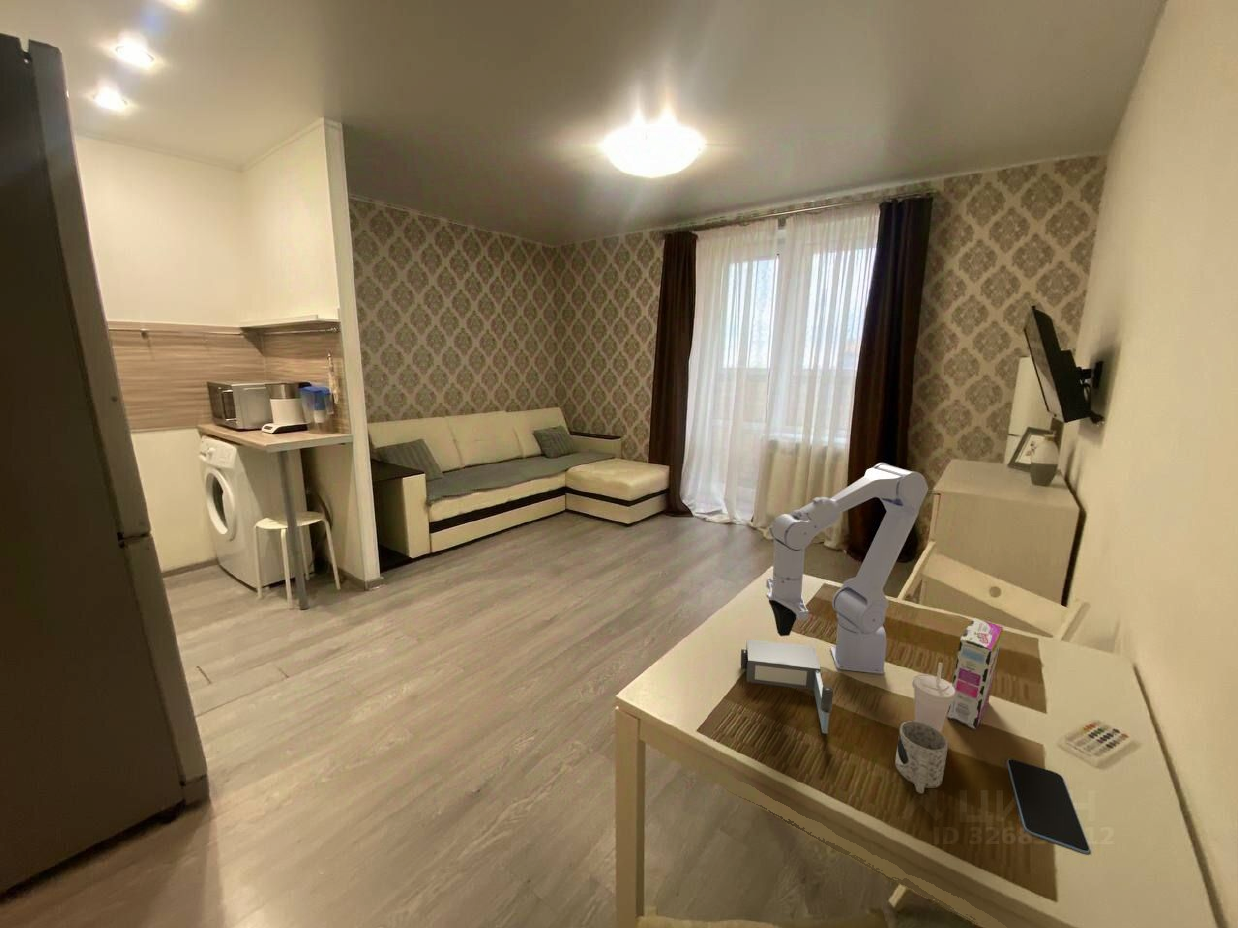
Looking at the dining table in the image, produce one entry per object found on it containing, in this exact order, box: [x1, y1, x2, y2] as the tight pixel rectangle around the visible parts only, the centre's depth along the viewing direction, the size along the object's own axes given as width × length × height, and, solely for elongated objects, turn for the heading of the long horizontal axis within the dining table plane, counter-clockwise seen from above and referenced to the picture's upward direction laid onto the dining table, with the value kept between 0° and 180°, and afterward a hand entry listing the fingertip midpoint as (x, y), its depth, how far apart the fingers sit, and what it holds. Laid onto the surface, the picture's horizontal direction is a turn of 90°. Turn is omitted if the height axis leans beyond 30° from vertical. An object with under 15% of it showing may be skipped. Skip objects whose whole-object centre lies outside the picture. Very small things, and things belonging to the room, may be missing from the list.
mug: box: [895, 720, 949, 794], centre depth 79 cm, size 10×7×7 cm
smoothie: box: [911, 662, 955, 733], centre depth 88 cm, size 6×6×14 cm
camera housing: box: [740, 638, 821, 691], centre depth 105 cm, size 15×8×5 cm, turn 78°
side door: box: [813, 670, 834, 734], centre depth 94 cm, size 12×2×8 cm, turn 166°
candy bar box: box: [946, 617, 1004, 730], centre depth 93 cm, size 11×5×16 cm, turn 135°
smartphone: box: [1006, 758, 1091, 854], centre depth 75 cm, size 7×1×15 cm
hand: (783, 634), depth 104 cm, fingers closed
